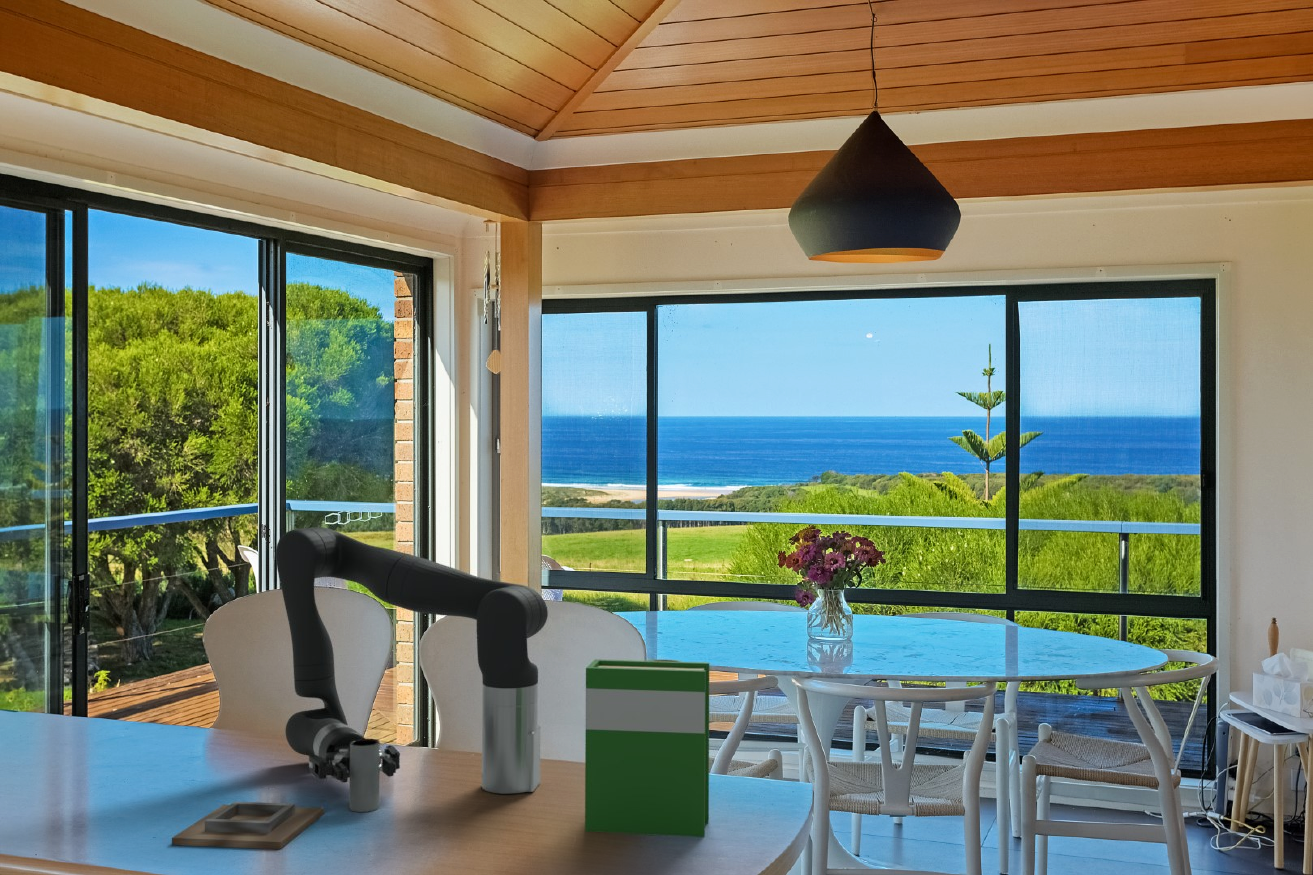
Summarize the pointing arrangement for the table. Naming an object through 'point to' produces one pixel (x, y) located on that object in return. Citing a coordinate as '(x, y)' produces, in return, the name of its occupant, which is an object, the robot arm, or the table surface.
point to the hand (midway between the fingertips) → (368, 772)
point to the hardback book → (647, 747)
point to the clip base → (249, 826)
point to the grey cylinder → (364, 775)
